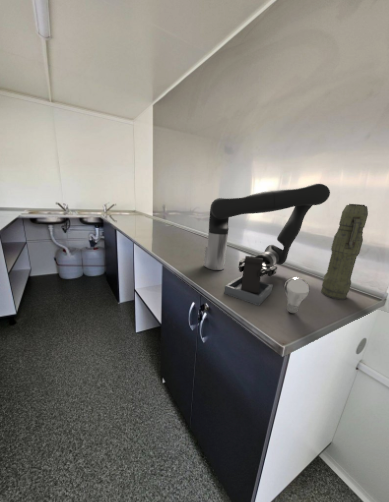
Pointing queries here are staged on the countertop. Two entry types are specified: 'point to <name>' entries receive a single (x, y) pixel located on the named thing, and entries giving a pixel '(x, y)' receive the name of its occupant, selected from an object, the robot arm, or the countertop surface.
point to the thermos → (345, 251)
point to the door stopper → (251, 274)
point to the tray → (256, 299)
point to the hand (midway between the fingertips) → (249, 271)
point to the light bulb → (295, 293)
